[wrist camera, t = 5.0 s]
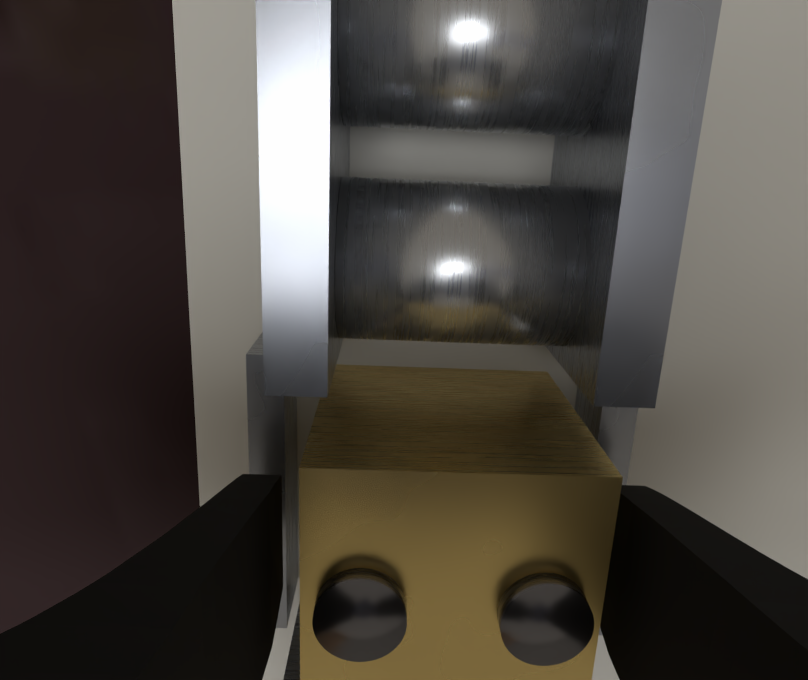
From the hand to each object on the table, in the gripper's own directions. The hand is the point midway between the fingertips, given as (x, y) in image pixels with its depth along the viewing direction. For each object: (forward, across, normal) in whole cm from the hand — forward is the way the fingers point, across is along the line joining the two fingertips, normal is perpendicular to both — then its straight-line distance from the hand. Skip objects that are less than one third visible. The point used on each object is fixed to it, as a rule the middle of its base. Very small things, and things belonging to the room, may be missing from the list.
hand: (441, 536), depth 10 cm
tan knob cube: (+2, 0, 0) cm, 2 cm away
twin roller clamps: (+2, 0, 0) cm, 2 cm away
